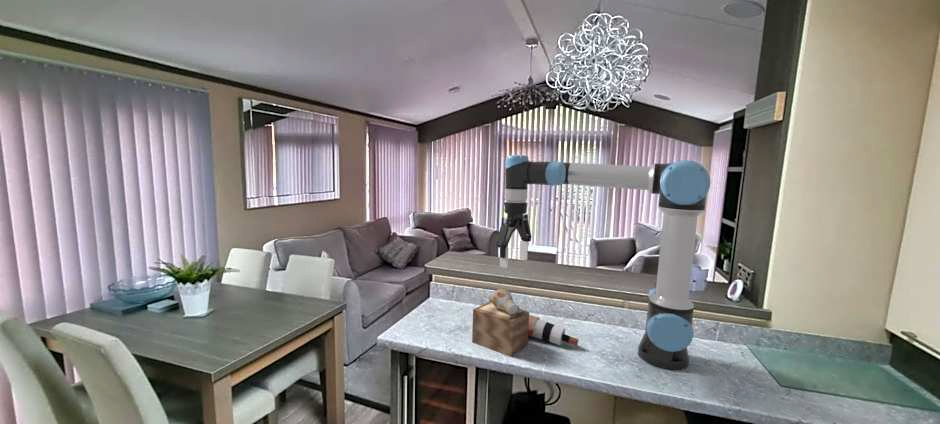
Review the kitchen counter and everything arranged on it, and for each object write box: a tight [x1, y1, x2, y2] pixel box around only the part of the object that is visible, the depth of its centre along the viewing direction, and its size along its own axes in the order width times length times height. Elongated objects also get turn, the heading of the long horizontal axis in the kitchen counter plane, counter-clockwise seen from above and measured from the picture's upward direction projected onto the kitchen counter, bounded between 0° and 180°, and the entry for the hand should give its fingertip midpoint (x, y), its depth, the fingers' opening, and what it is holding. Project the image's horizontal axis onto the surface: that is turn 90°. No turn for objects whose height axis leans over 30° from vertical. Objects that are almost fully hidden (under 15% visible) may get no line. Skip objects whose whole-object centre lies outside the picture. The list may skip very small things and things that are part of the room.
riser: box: [471, 300, 530, 358], centre depth 135 cm, size 16×11×13 cm
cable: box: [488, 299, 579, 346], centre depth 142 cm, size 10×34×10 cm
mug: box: [490, 287, 522, 315], centre depth 133 cm, size 8×10×10 cm
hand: (514, 263), depth 133 cm, fingers open, 13 cm apart
